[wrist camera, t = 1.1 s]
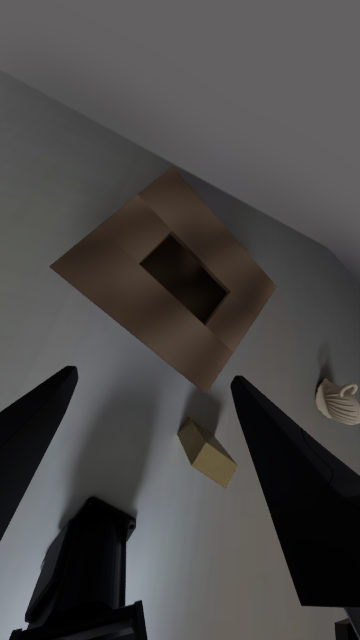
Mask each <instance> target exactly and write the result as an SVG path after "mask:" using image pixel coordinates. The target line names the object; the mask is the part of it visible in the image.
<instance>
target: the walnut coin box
mask: <svg viewBox="0 0 360 640" xmlns="http://www.w3.org/2000/svg"><path fill="white" fill-rule="evenodd" d="M49 267H50V268H51V269H53V270H54V271H55V272H56V273H58V274H59V275H60V276H61V277H62V278H64V279H65V280H66V281H67V282H69V283H70V284H71V285H72V286H73V287H75V288H76V289H77V290H78V291H80V292H81V293H82V294H83V295H85V296H86V297H87V298H88V299H89V300H91V301H92V302H93V303H94V304H96V305H97V306H98V307H99V308H101V309H102V310H103V311H104V312H105V313H107V314H108V315H109V316H110V317H112V318H113V319H114V320H115V321H116V322H118V323H119V324H120V325H121V326H123V327H124V328H125V329H126V330H128V331H129V332H130V333H131V334H132V335H134V336H135V337H136V338H137V339H139V340H140V341H141V342H142V343H143V344H145V345H146V346H147V347H148V348H150V349H151V350H152V351H153V352H155V353H156V354H157V355H158V356H159V357H161V358H162V359H163V360H164V361H166V362H167V363H168V364H169V365H171V366H172V367H173V368H174V369H175V370H177V371H178V372H179V373H180V374H182V375H183V376H184V377H185V378H186V379H188V380H189V381H190V382H191V383H193V384H194V385H195V386H196V387H198V388H199V389H200V390H201V391H202V392H204V393H205V394H206V393H207V392H208V390H209V389H210V387H211V386H212V384H213V383H214V381H215V380H216V378H217V377H218V375H219V374H220V372H221V371H222V369H223V367H224V366H225V364H226V363H227V361H228V360H229V358H230V357H231V355H232V354H233V352H234V351H235V349H236V348H237V346H238V345H239V343H240V342H241V340H242V339H243V337H244V336H245V334H246V333H247V331H248V330H249V328H250V327H251V325H252V324H253V322H254V321H255V319H256V318H257V316H258V315H259V313H260V312H261V310H262V309H263V307H264V306H265V304H266V303H267V301H268V299H269V298H270V296H271V295H272V293H273V292H274V290H275V289H276V287H277V286H276V285H275V284H274V283H273V282H272V280H271V279H270V278H269V277H268V276H267V275H266V274H265V272H264V271H263V270H262V269H261V268H260V267H259V265H258V264H257V263H256V262H255V261H254V260H253V259H252V257H251V256H250V255H249V254H248V253H247V252H246V250H245V249H244V248H243V247H242V246H241V245H240V244H239V242H238V241H237V240H236V239H235V238H234V237H233V235H232V234H231V233H230V232H229V231H228V230H227V229H226V227H225V226H224V225H223V224H222V223H221V222H220V220H219V219H218V218H217V217H216V216H215V215H214V214H213V212H212V211H211V210H210V209H209V208H208V207H207V205H206V204H205V203H204V202H203V201H202V200H201V199H200V197H199V196H198V195H197V194H196V193H195V192H194V190H193V189H192V188H191V187H190V186H189V185H188V184H187V182H186V181H185V180H184V179H183V178H182V177H181V175H180V174H179V173H178V172H177V171H176V170H175V169H174V167H173V166H172V167H171V168H170V169H169V170H167V171H166V172H165V173H164V174H162V175H161V176H160V177H159V178H158V179H156V180H155V181H154V182H153V183H151V184H150V185H149V186H148V187H146V188H145V189H144V190H143V191H142V192H140V193H139V194H138V195H137V196H135V197H134V198H133V199H132V200H130V201H129V202H128V203H127V204H126V205H124V206H123V207H122V208H121V209H119V210H118V211H117V212H116V213H114V214H113V215H112V216H111V217H110V218H108V219H107V220H106V221H105V222H103V223H102V224H101V225H100V226H98V227H97V228H96V229H95V230H94V231H92V232H91V233H90V234H89V235H87V236H86V237H85V238H84V239H82V240H81V241H80V242H79V243H78V244H76V245H75V246H74V247H73V248H71V249H70V250H69V251H68V252H66V253H65V254H64V255H63V256H62V257H60V258H59V259H58V260H57V261H55V262H54V263H53V264H52V265H50V266H49Z"/></svg>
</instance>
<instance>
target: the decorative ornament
mask: <svg viewBox="0 0 360 640" xmlns="http://www.w3.org/2000/svg"><path fill="white" fill-rule="evenodd" d="M350 387H352V389H351V390H350V391H348V390H346V389H348V388H350ZM357 389H358V386H357V385H356V384H355V383H349V384H346V385H344V386H343V387H341V386H339V385H337V384H334V383H331V382H330V381H329V380H327V379H326V378H324V380H323V381H322V383H321V384H320V385H319V387H318V389H317V392H316V398H315V402H316V405H317V408H318V410H319V411H321V412H322V414H323V415H325V416H326V417H327V418H333V419H334V420H336V421H338V422H341V423H344V424H348V425H353V424H359V423H360V405H359V403H358V401H357V400H356V398H355V397H354V396H353V394H354V393H355V392H356V391H357Z"/></svg>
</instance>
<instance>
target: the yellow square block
mask: <svg viewBox="0 0 360 640" xmlns="http://www.w3.org/2000/svg"><path fill="white" fill-rule="evenodd" d="M177 435H178V437H179V439H180V442H181V444H182V446H183V448H184V450H185V453H186V455H187V457H188V459H189V461H190V464H191V466H192V467H194V468H195V469H197V470H198V471H200V472H201V473H203V474H204V475H206V476H207V477H209V478H210V479H212V480H213V481H215V482H216V483H218V484H219V485H221V486H222V487H224V488H226V486H227V484H228V483H229V481H230V479H231V477H232V475H233V473H234V471H235V469H236V468H237V466H238V465H237V464H236V463H235V461H234V460H233V459H232V458H231V456H230V455H229V454H228V453H227V451H226V450H225V449H224V448H223V446H222V445H221V444H220V443H219V441H218V440H217V439H216V438H215V436H214V435H212V434H211V433H210V432H208V431H207V430H206V429H204V428H203V427H202V426H200V425H199V424H198V423H196V422H195V421H194V420H192V419H191V418H190V417H188V419H187V420H186V422H185V423H184V425H183V426H182V428H181V429H180V431H179V432H178V434H177Z"/></svg>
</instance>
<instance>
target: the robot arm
mask: <svg viewBox="0 0 360 640" xmlns="http://www.w3.org/2000/svg"><path fill="white" fill-rule="evenodd" d="M77 382H78V372H77V367H76V366H66V367H64V368H63V369H61V370H60V371H59V372H57V373H56V374H54V375H53V376H51V377H50V378H49V379H47V380H46V381H44V382H43V383H41V384H40V385H38V386H37V387H36V388H34V389H33V390H31V391H30V392H28V393H27V394H25V395H24V396H23V397H21V398H20V399H18V400H17V401H15V402H14V403H13V404H11V405H10V406H8V407H7V408H5V409H4V410H2V411H1V412H0V541H1V539H2V537H3V535H4V533H5V531H6V529H7V527H8V525H9V523H10V521H11V519H12V517H13V515H14V513H15V511H16V509H17V507H18V505H19V503H20V501H21V499H22V497H23V495H24V494H25V492H26V490H27V488H28V486H29V484H30V482H31V480H32V478H33V476H34V474H35V472H36V470H37V468H38V466H39V464H40V462H41V460H42V458H43V456H44V454H45V452H46V450H47V448H48V446H49V444H50V442H51V440H52V438H53V436H54V434H55V433H56V431H57V429H58V427H59V425H60V423H61V421H62V419H63V417H64V415H65V413H66V410H67V408H68V405H69V403H70V400H71V397H72V395H73V392H74V389H75V387H76V384H77ZM231 391H232V396H233V400H234V404H235V409H236V412H237V416H238V419H239V422H240V425H241V428H242V431H243V434H244V437H245V440H246V443H247V446H248V449H249V452H250V455H251V458H252V461H253V464H254V467H255V470H256V473H257V475H258V478H259V481H260V484H261V487H262V490H263V493H264V496H265V499H266V502H267V505H268V508H269V511H270V514H271V518H272V521H273V524H274V527H275V530H276V533H277V536H278V539H279V542H280V545H281V548H282V550H283V553H284V556H285V559H286V562H287V565H288V568H289V571H290V574H291V577H292V580H293V583H294V586H295V589H296V592H297V595H298V598H299V601H300V603H301V605H302V606H316V607H343V608H344V610H345V612H346V614H347V616H348V618H347V619H344V620H341V621H338V622H336V623H335V634H336V640H360V476H359V475H358V474H357V473H355V472H354V471H353V470H352V469H350V468H349V467H348V466H347V465H345V464H344V463H343V462H342V461H340V460H339V459H338V458H337V457H335V456H334V455H333V454H332V453H330V452H329V451H328V450H327V449H326V448H324V447H323V446H322V445H321V444H319V443H318V442H317V441H316V440H315V439H314V438H312V437H311V436H310V435H309V434H308V433H307V432H306V431H304V430H303V429H302V428H301V427H300V426H299V425H298V424H296V423H295V422H294V421H293V420H292V419H291V418H290V417H289V416H287V415H286V414H285V413H284V412H283V411H282V410H281V409H279V408H278V407H277V406H276V405H275V404H274V403H273V402H271V401H270V400H269V399H268V398H267V397H266V396H265V395H264V394H262V393H261V392H260V391H259V390H258V389H257V388H256V387H254V386H253V385H252V384H251V383H250V382H249V381H248V380H247V379H245V378H244V377H243V376H238V375H237V376H235V377H234V379H233V381H232V383H231ZM90 503H92V504H91V505H90ZM135 528H136V519H135V518H133V517H132V516H130V515H128V514H126V513H124V512H122V511H120V510H118V509H116V508H114V507H113V506H111V505H109V504H107V503H105V502H103V501H101V500H99V499H97V498H95V497H90V498H88V499H87V501H86V502H85V503H84V505H83V506H82V508H81V509H80V510H79V512H78V513H77V514H76V516H75V517H74V518H72V519H71V520H70V521H69V522H68V523H67V525H66V526H65V527H64V529H63V530H62V531H61V533H60V534H59V535H58V537H57V538H56V539H55V541H54V542H53V543H52V545H51V546H50V548H49V551H48V554H47V555H46V556H45V558H44V560H43V562H42V565H41V573H40V576H39V578H38V581H37V584H36V586H35V589H34V592H33V595H32V597H31V600H30V603H29V605H28V608H27V611H26V614H25V622H27V623H29V625H28V627H27V630H23V631H22V628H21V629H17V630H13V631H12V634H11V636H10V638H9V640H147V633H146V626H145V619H144V612H143V605H142V600H140V601H136V602H135V603H134V604H132V605H128V606H125V589H126V542H127V541H128V539H129V537H130V536H131V534H132V533H133V531H134V530H135Z"/></svg>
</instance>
